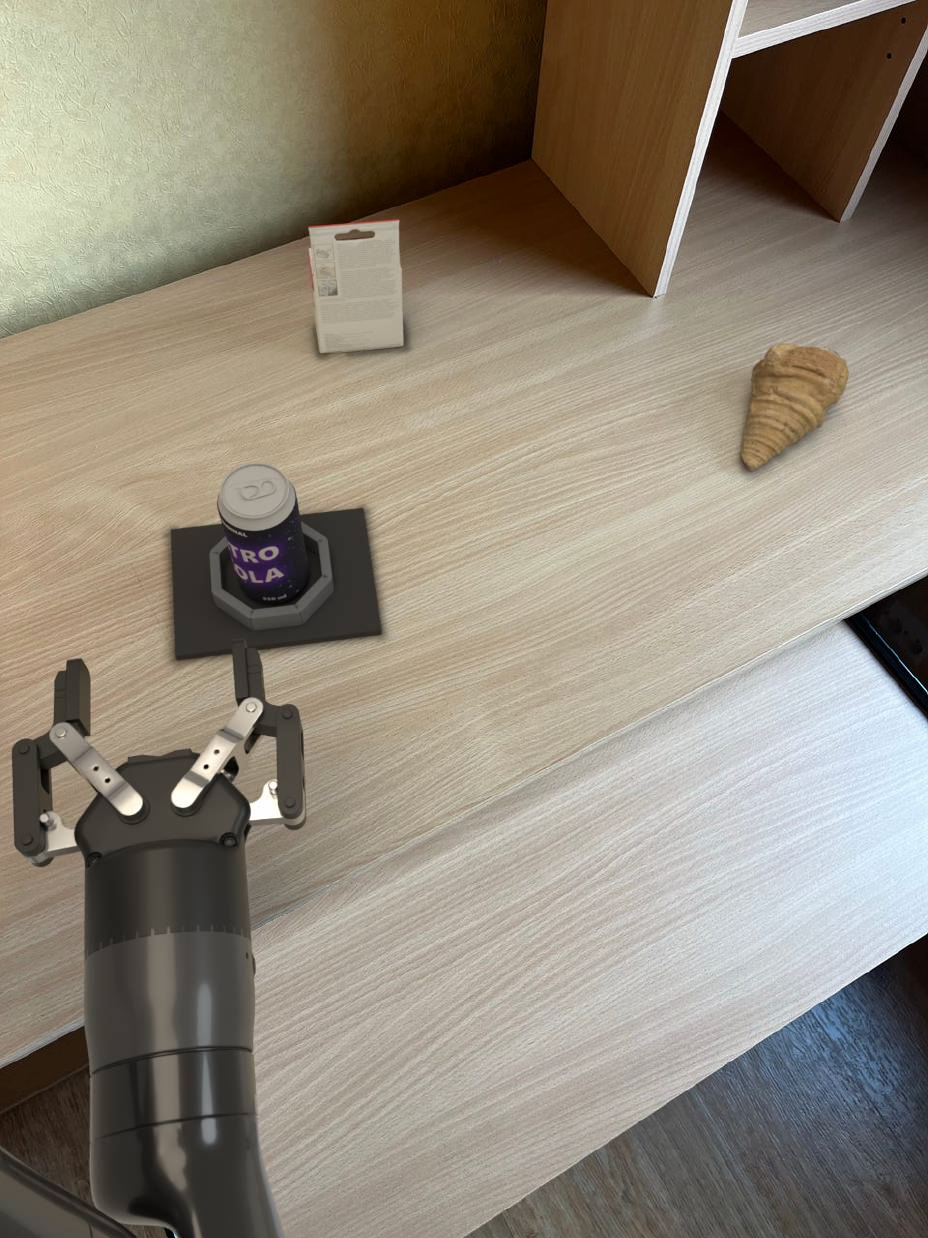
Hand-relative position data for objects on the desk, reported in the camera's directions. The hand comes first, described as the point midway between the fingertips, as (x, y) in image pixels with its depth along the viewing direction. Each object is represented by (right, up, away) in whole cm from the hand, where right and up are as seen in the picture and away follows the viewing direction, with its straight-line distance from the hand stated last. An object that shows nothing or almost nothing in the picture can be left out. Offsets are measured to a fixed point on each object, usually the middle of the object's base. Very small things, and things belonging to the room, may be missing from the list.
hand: (159, 655), depth 57 cm
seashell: (+45, +20, +40) cm, 64 cm away
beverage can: (+1, +5, +29) cm, 29 cm away
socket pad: (+1, +5, +29) cm, 30 cm away
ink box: (+7, +28, +43) cm, 52 cm away
